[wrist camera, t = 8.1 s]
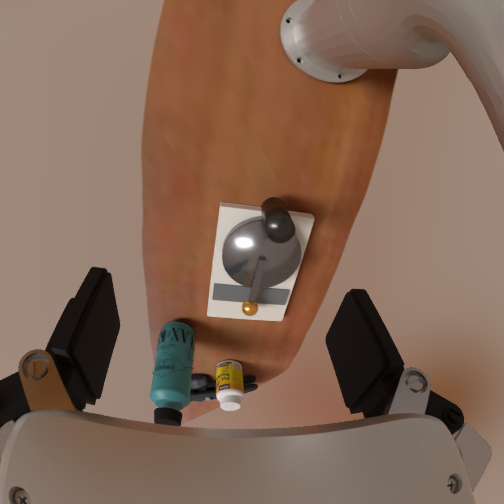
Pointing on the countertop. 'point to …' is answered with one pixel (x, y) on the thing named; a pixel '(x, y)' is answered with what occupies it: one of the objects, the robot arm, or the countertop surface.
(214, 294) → the stand
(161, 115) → the countertop surface
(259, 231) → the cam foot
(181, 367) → the beverage bottle
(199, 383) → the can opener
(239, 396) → the supplement bottle
